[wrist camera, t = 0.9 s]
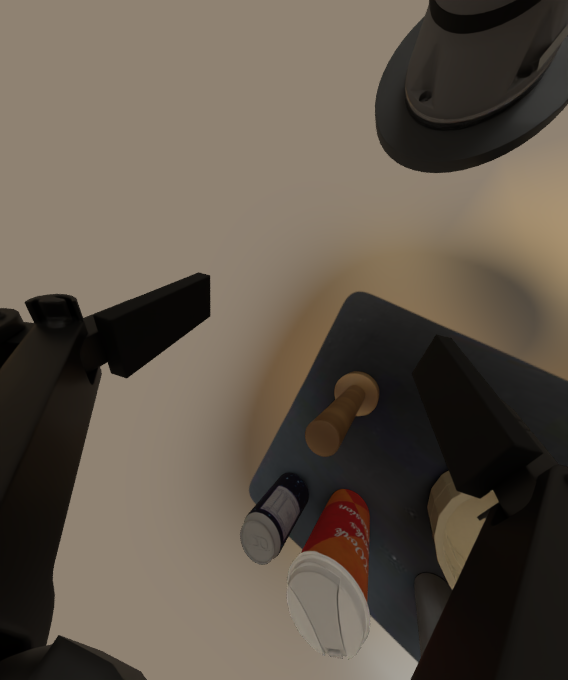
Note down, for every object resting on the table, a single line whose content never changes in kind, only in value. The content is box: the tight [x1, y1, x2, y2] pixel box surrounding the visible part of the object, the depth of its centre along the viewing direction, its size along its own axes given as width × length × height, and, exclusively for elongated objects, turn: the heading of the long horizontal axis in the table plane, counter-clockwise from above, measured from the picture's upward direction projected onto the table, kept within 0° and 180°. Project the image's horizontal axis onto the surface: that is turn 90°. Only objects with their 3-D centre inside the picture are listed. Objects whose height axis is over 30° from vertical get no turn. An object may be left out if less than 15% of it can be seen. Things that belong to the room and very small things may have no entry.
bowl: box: [427, 471, 499, 590], centre depth 24 cm, size 16×16×6 cm
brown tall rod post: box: [305, 371, 379, 457], centre depth 25 cm, size 6×6×20 cm
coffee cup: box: [287, 489, 370, 659], centre depth 27 cm, size 8×8×15 cm
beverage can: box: [240, 473, 308, 565], centre depth 33 cm, size 6×6×12 cm
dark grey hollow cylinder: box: [414, 573, 452, 657], centre depth 25 cm, size 4×4×10 cm
